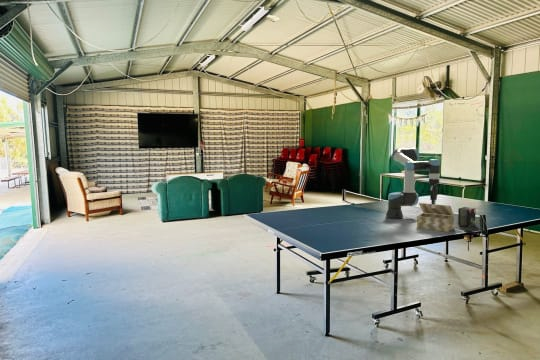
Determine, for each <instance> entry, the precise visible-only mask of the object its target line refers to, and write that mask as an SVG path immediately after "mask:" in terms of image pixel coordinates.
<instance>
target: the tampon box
mask: <svg viewBox="0 0 540 360" xmlns="http://www.w3.org/2000/svg"><path fill="white" fill-rule="evenodd" d="M476 209H477V208H476V207H475V208H474V207H467V206H464V207H458V211H457V212H458V214H457V217H458V218H457V219H458V220H457V226H458V225H459V227H464V226H465V228H472V227H474V225H475V226H476V214H477V213H476ZM471 226H472V227H471Z"/></svg>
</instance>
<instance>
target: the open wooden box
mask: <svg viewBox="0 0 540 360" xmlns="http://www.w3.org/2000/svg"><path fill="white" fill-rule="evenodd" d="M454 225H455V215H454V216H449V215H440V214H431V213H423V212H422V213H420V214H417V215H416V228H418V229H424V230H432V231H440V232H447V233H449V232H450V231H452V230H453V228H454V227H455V226H454ZM454 229H455V228H454Z"/></svg>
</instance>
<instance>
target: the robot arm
mask: <svg viewBox="0 0 540 360" xmlns="http://www.w3.org/2000/svg"><path fill="white" fill-rule="evenodd" d="M391 157H392V160H393V161H395V162H398V163H400V164H401V165H403V166H404V190H403V191H402V192H401V191H396V192H391V193H389V194H388V195H387V196H388V197H387V211H386V214H385V218H387V219H390V220H391V219H392V220H401V219H403V218H404V214H403V211H402V207H415V206H417V205H418V204H419V200H420V197H419V194H418V193H417V191H416V190H415V172H416V171H428V184H430V187H429V188H428V189H429V196H430V202H431V203H430V204H431V208H436V204H437V203H436V201H437V200H438V191H439V186H438V185H439V184H440V176H441V174H440V170H441V168H440V166H441V163H440V159H438V158H437V159H436V158H430V159H429V160H424V161H422V160H421V161H419V159H420V153H419V150H418V148H417V147H400V148H399V147H398V148H396V149H394V150H393V152H392V153H391Z"/></svg>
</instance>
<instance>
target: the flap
mask: <svg viewBox="0 0 540 360" xmlns="http://www.w3.org/2000/svg"><path fill="white" fill-rule="evenodd" d="M418 206H419V207H420V209H421V211H422V213H429V214H438V215H447V216H454V217H455V214H454V211H453V208H452V206H451V205H447V204H445V205H444V204H437V203H436V208H431V203H422V202H418Z"/></svg>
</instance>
